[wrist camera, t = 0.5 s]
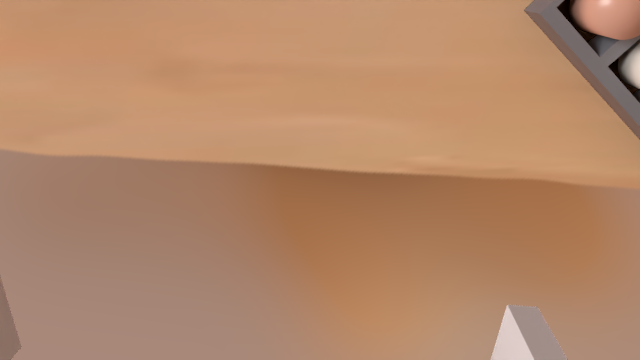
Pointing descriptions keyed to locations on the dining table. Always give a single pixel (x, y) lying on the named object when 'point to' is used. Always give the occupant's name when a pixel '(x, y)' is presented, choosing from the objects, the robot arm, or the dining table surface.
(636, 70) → the cream rounded dome
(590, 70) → the button panel
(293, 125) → the dining table surface
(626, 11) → the terracotta button
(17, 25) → the dining table surface
